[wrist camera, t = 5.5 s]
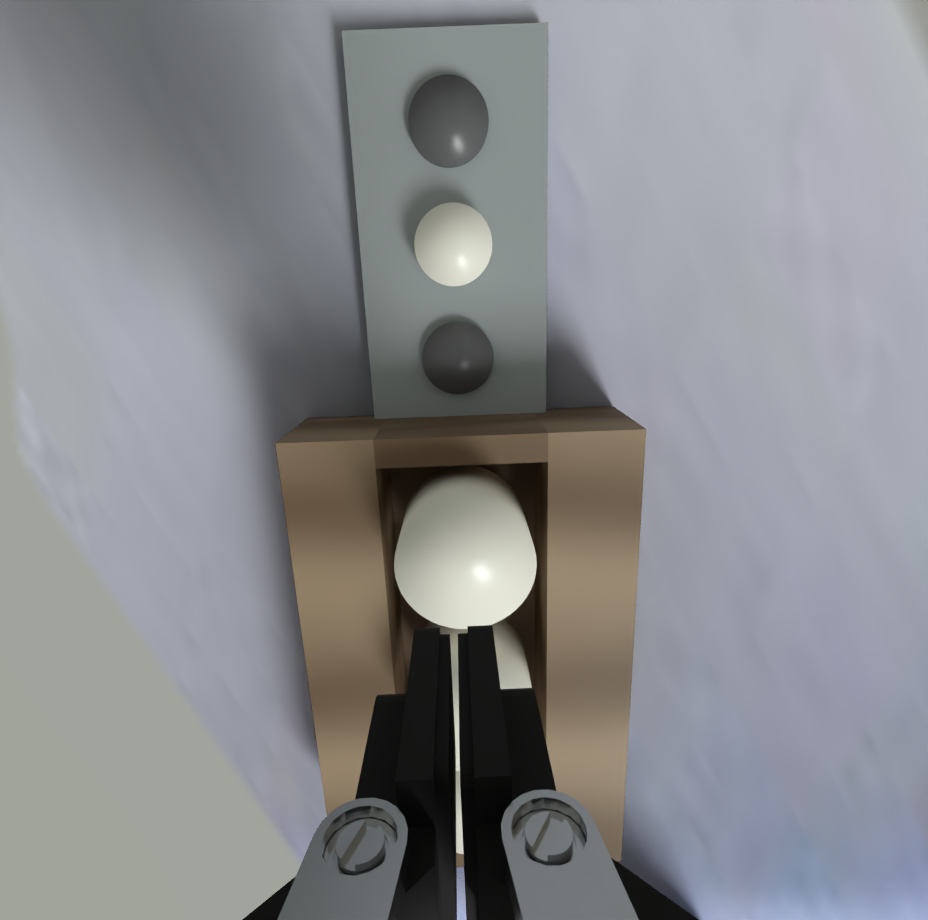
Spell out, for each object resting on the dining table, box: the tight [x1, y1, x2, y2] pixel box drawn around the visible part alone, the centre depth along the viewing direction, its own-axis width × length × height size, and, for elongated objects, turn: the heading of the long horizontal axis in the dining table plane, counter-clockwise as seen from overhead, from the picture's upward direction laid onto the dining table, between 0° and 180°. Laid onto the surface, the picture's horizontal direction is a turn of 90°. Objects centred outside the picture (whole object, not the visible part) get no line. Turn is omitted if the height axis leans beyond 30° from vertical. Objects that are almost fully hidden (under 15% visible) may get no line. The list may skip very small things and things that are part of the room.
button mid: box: [424, 618, 532, 771], centre depth 18 cm, size 4×4×3 cm
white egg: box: [394, 466, 537, 629], centre depth 17 cm, size 4×4×3 cm
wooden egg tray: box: [275, 406, 646, 867], centre depth 20 cm, size 17×11×4 cm, turn 2°
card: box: [342, 22, 548, 419], centre depth 18 cm, size 12×6×1 cm, turn 2°
